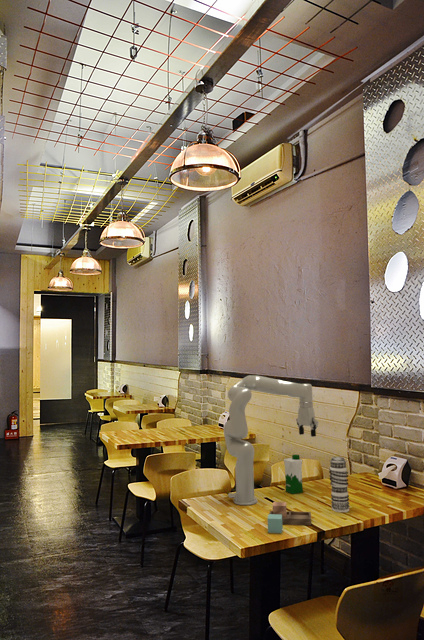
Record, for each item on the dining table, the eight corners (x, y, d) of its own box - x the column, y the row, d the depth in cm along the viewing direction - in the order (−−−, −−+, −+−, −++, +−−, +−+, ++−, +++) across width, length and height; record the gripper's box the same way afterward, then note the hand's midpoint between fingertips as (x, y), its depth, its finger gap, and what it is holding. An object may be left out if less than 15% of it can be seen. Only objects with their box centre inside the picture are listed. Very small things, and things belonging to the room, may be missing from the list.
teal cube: (268, 532, 202) (267, 518, 203) (269, 528, 208) (268, 514, 209) (282, 533, 201) (281, 519, 202) (282, 528, 207) (282, 514, 208)
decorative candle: (327, 509, 230) (324, 457, 233) (337, 505, 237) (334, 454, 239) (344, 513, 224) (341, 460, 226) (353, 509, 230) (350, 457, 233)
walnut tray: (268, 523, 213) (268, 506, 214) (270, 516, 223) (269, 500, 224) (311, 525, 210) (310, 508, 210) (310, 517, 219) (310, 501, 220)
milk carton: (305, 492, 261) (303, 456, 263) (292, 495, 257) (290, 457, 259) (296, 489, 269) (294, 453, 271) (283, 491, 265) (281, 455, 267)
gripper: (291, 404, 276) (292, 434, 275) (311, 406, 262) (313, 437, 260) (300, 403, 280) (302, 433, 279) (321, 405, 266) (323, 436, 264)
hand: (307, 435), depth 269 cm, fingers open, 9 cm apart
